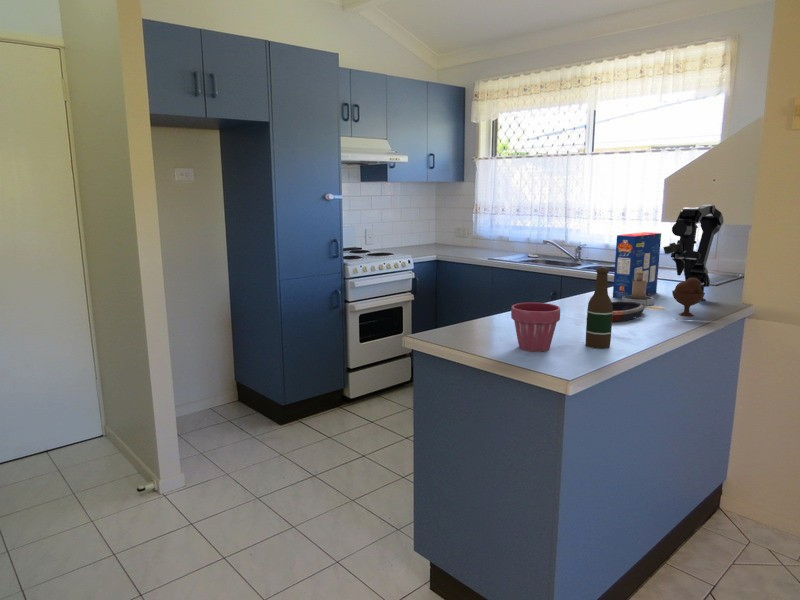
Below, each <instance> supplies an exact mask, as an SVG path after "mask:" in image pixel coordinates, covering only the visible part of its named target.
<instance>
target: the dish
mask: <svg viewBox="0 0 800 600" xmlns="http://www.w3.org/2000/svg"><path fill="white" fill-rule="evenodd" d="M611 302H612V306H613V315H612V323H613V322H614V323H615V322H624V321H629V320H633V319H635V318H637V317H640V316H641V315H642V314H643V312H644V310H645V309H646V308H645V304H644V303H640V302H634V301H622V300H617V301H616V300H615V301H611Z"/></svg>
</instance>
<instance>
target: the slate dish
mask: <svg viewBox="0 0 800 600" xmlns="http://www.w3.org/2000/svg"><path fill="white" fill-rule="evenodd" d="M621 301H634V302H640V303H644V304H645V306H655V305H654V304H655V298H654V297H652V296H650V295H647V296H645V300H637V299H631V295H625V296H622V298H621Z"/></svg>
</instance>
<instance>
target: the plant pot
mask: <svg viewBox="0 0 800 600" xmlns="http://www.w3.org/2000/svg"><path fill="white" fill-rule="evenodd" d="M510 310H511V311H510V312H511V313H510V316H511V320H513V322H514V327H515V333H516V338H517V343H518V347H519V349H521V350H523V351H525V352H538V353H539V352H546V351H549V350H550V348H551V345H552V340H553V337H554V333H555V331H556V327H557V323H558V322H559V321H560V320H561V306H559V305H556V304H551V303H546V302H534V301H533V302H519V303H516V304H513V305H512V306H511V308H510Z"/></svg>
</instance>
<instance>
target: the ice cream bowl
mask: <svg viewBox="0 0 800 600" xmlns="http://www.w3.org/2000/svg"><path fill="white" fill-rule="evenodd" d="M671 291H672V296H673V299H674V300H675V301H676V302H677V303H678V304H679V305H682V306H683V308H684V309H683V311H682V312H680V313H679V314H678V316H681V317H689V318H691V317H694V316H695V315H694V314H692V313H691V312H690V308H691V307H692V306H694V305H697V304H698V303H700V302H702V301H703V300H702V299H703V298H705V294H706V293H705V291H704V292H702V290H701V282H700V281H699V280H698V279H697V278H688V279H687V280H686V281H685V280H684V281H680V282H679V283H677V284H676V285H675V288H674V289H673V290H671Z"/></svg>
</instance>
